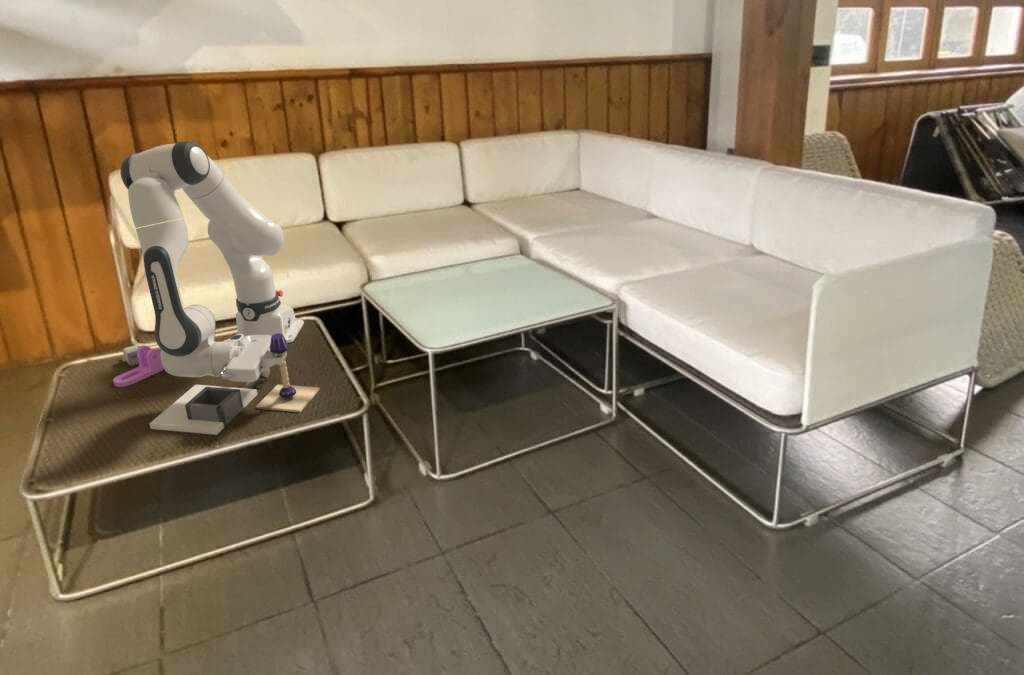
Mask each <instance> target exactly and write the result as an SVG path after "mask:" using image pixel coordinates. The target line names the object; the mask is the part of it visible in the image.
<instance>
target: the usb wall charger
mask: <svg viewBox="0 0 1024 675" xmlns="http://www.w3.org/2000/svg"><path fill="white" fill-rule="evenodd" d="M138 348H139V347H138V345H131V346H128V347H124V348H123V349H122V353H123V356H124V360H125V361H126V363H127V364H128V365H129V366H131V367H132V366H135V364H136V365H138V364H137V363H139V361H138V357H137V350H138Z"/></svg>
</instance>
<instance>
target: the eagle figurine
mask: <svg viewBox="0 0 1024 675" xmlns="http://www.w3.org/2000/svg"><path fill="white" fill-rule="evenodd" d="M270 373H271V369H270V367H264V369H263V371H262V372H261V374H260V376H259V377H258V379H257V380H256V381H254V382H243V384H242V385H241V386H239V387H238V388H245V389H255V387H257V386H258V385H260V384H261V383H262V381H263V380H265V381H268V378H269V375H270ZM262 379H263V380H262Z"/></svg>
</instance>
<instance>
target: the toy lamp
mask: <svg viewBox="0 0 1024 675" xmlns="http://www.w3.org/2000/svg"><path fill="white" fill-rule="evenodd" d="M289 349H290V346H289V343H287V341H286V339H285V337H284V335H283V334H280V333H278V334H274V335H272V336H271V343H270V351H271V352H272V353H275V354H277V355H278V356H283V358H284V362H283V363H282V364H280V365H278V366H279V371H280V376H281V382H282V385H283V388H282V389H281V390H280V392H279V395H280V396H281V397H291V396H294V395H295V394H296V390H295V388H294V387H292V386H290V385H291V384H290V382H289V381H290V379H289V372H288V367H287V361H286V358H285V356H284V352H286V353H287V352H288V350H289Z"/></svg>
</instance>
